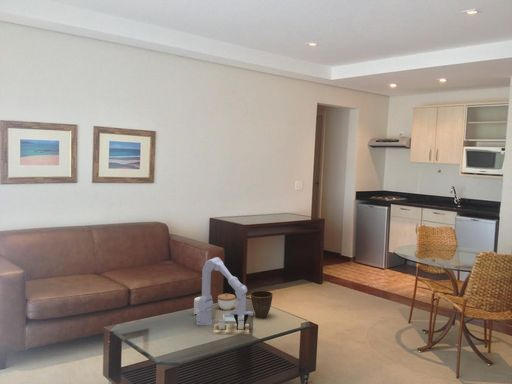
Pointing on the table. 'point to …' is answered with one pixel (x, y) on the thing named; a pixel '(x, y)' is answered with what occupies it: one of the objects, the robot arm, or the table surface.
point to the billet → (221, 324)
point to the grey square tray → (231, 318)
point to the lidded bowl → (226, 301)
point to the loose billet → (240, 323)
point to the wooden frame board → (231, 329)
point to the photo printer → (196, 304)
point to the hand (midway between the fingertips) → (240, 326)
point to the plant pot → (261, 303)
